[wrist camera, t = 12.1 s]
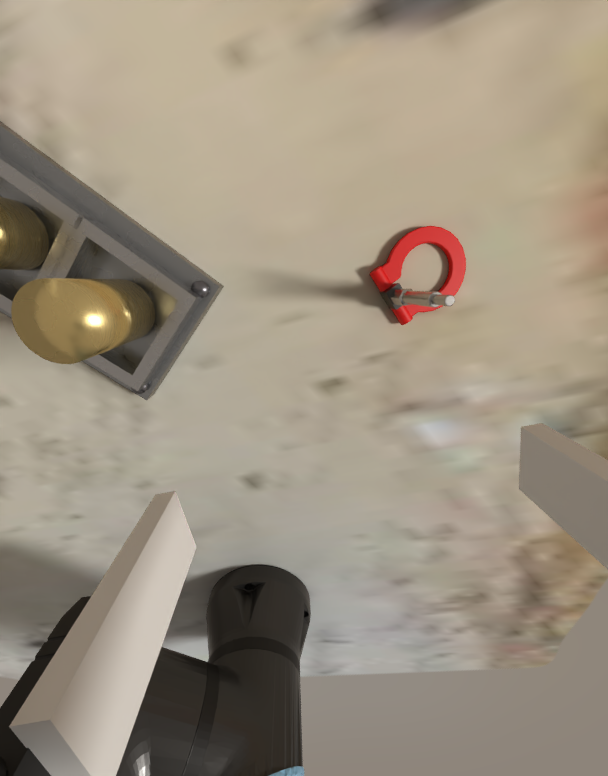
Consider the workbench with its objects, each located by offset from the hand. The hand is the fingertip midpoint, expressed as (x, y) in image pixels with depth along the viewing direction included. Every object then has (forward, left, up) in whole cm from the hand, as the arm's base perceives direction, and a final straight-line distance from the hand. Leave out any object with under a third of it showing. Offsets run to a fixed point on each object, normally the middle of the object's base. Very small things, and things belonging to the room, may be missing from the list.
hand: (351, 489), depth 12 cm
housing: (-8, +24, -25) cm, 35 cm away
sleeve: (-8, +18, -23) cm, 30 cm away
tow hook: (+13, -4, -26) cm, 29 cm away
